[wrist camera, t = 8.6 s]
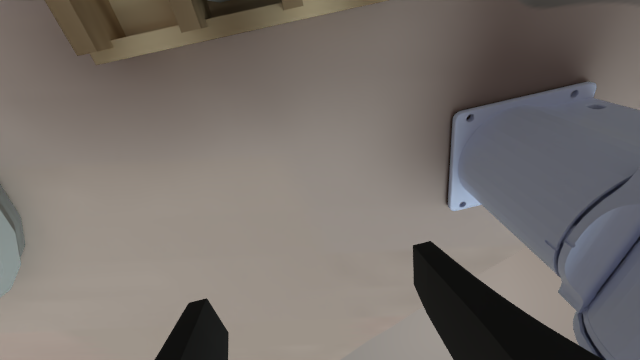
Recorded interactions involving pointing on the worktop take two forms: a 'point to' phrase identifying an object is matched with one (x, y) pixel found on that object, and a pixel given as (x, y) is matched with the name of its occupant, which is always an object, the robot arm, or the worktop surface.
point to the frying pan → (9, 242)
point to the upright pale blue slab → (219, 0)
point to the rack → (173, 22)
